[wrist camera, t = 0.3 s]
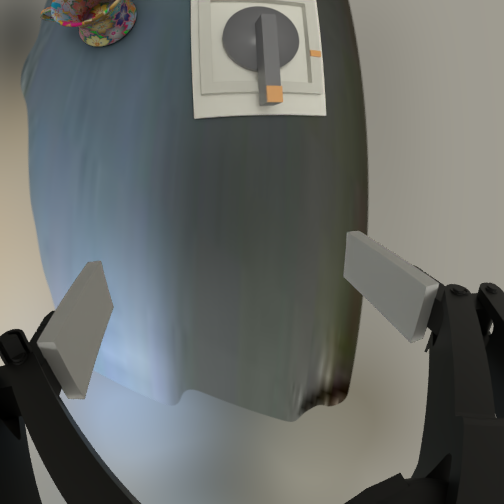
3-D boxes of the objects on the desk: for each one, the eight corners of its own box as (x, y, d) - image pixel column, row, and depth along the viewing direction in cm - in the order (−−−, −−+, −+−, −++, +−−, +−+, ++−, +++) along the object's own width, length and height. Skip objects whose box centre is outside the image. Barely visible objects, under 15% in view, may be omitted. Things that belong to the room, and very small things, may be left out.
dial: (221, 9, 28) (226, -8, 23) (292, 13, 30) (307, -2, 25) (225, 108, 34) (231, 102, 29) (299, 107, 36) (316, 103, 31)
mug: (143, -7, 26) (133, -44, 16) (137, 45, 29) (121, 16, 19) (67, 8, 23) (40, -19, 14) (59, 60, 27) (25, 42, 17)
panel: (190, -16, 27) (191, -25, 24) (311, -10, 30) (318, -17, 27) (194, 119, 35) (194, 117, 32) (322, 116, 38) (331, 115, 35)
